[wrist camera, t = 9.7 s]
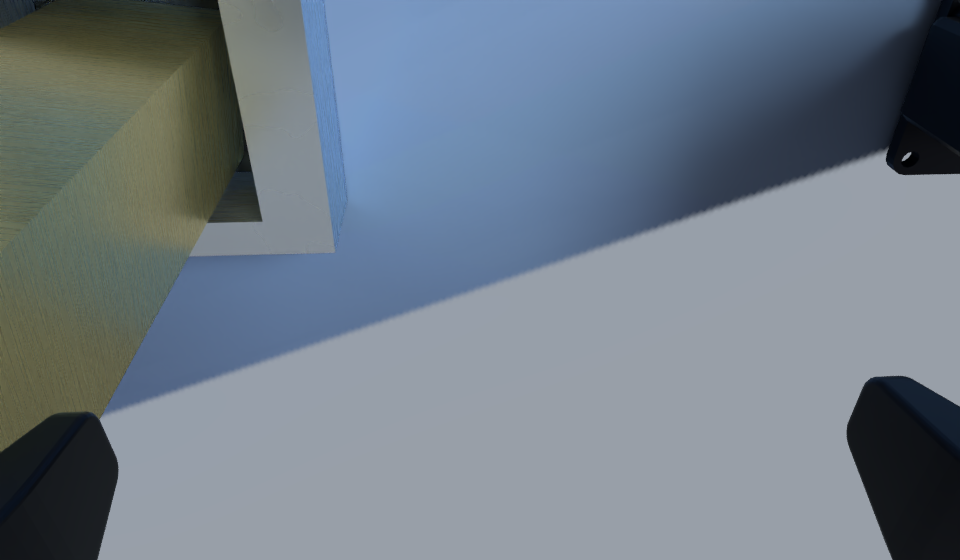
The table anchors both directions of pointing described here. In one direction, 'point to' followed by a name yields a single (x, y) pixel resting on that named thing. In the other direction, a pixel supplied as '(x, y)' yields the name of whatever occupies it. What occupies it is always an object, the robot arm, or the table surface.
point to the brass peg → (102, 188)
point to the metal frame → (274, 131)
